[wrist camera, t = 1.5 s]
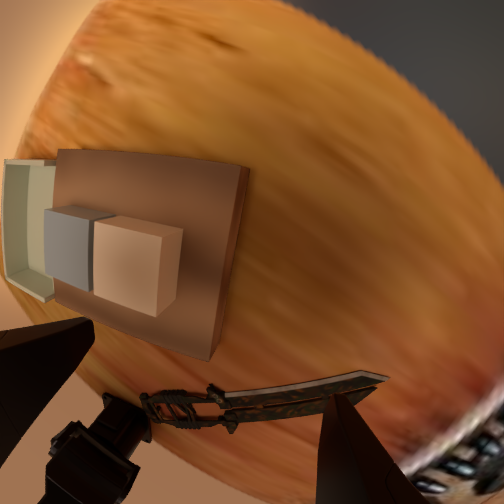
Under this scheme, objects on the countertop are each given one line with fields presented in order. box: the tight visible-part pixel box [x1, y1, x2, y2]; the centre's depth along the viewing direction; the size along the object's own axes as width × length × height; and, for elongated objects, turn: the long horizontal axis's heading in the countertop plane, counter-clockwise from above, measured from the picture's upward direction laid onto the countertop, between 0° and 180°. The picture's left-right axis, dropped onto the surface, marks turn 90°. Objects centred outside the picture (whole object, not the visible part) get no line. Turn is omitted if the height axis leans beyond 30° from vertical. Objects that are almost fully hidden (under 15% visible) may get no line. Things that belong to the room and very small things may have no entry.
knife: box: [139, 371, 389, 434], centre depth 24 cm, size 25×6×1 cm, turn 102°
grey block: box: [44, 205, 116, 292], centre depth 18 cm, size 5×5×3 cm
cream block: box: [93, 216, 183, 317], centre depth 17 cm, size 5×5×3 cm
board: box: [52, 149, 250, 362], centre depth 20 cm, size 14×16×3 cm
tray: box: [1, 159, 57, 303], centre depth 22 cm, size 13×8×4 cm, turn 170°
